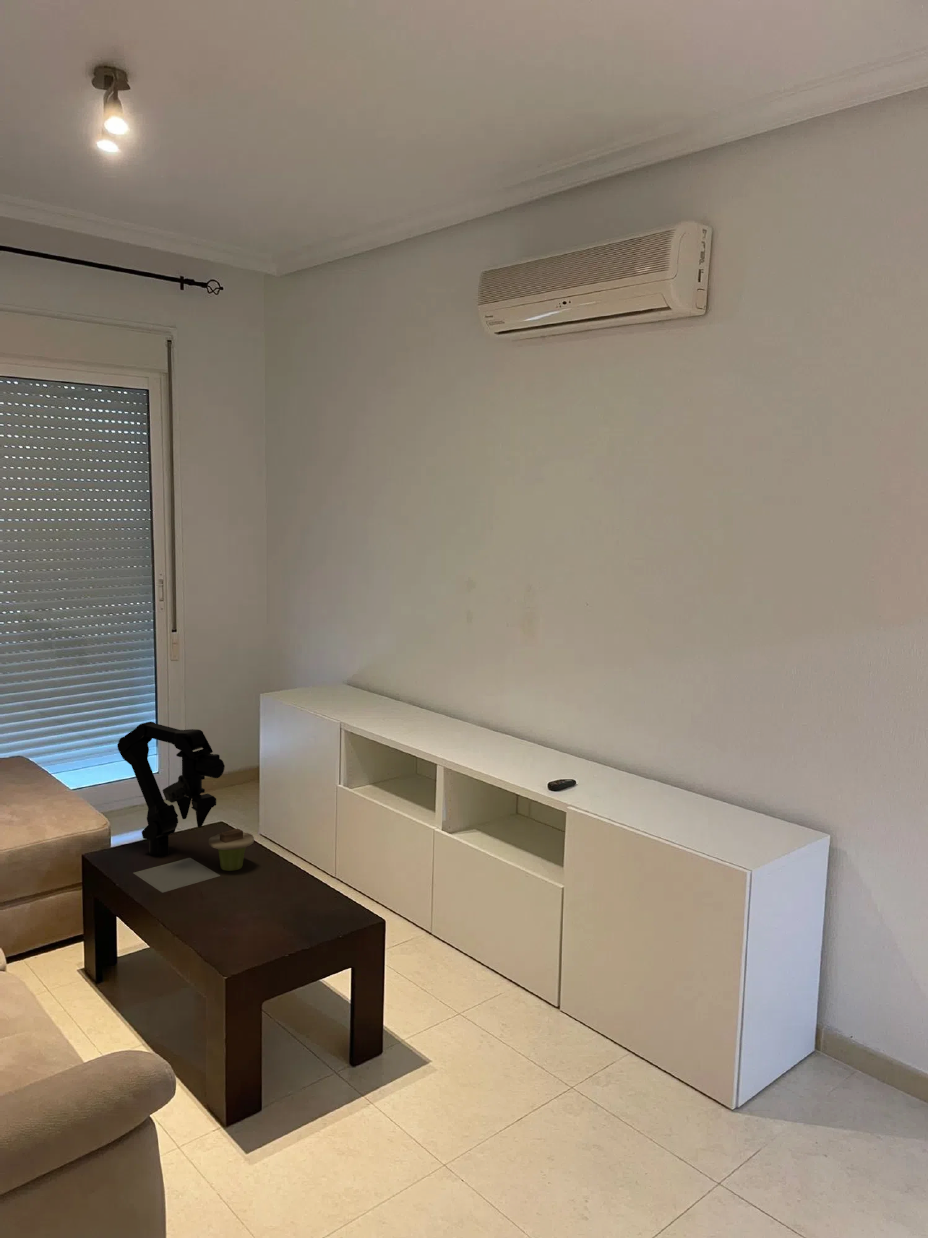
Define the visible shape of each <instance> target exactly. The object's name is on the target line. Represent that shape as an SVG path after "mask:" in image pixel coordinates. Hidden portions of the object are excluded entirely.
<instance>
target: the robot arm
mask: <svg viewBox="0 0 928 1238" xmlns="http://www.w3.org/2000/svg"><path fill="white" fill-rule="evenodd" d="M152 739H153V740H157V741H160V742H165V743H168V744H171V745H174V748H175V749H177V750H179V751H178V752H177V753H176V757H178V758H181V774H180V775H179V776H178V777H177V781H176V782H174V783H172V784H170V785H168V786H167V787H165V788H163V789H162V791H161V790H160V787H159V786H158V782H157V779H156V777H155V775H154V773H153V770H152V767H151V764H150V762H149V759H148V758H149V751H150V749H149V743H150V742H151V741H152ZM207 739H208V738H207V737H206V735H205V734H204V731H202V730H201V729H196V728H195V729H194V728H193V729H192V728H191V729H178V728H176V727H175V728H174V727H171V726H167V725H163V724H158V723H155V722H154V721H146V722H142V723H140V724H139V725H136V728H134V729H133V730H131V731H129V732H128V733H127V734H126V735H124V736H123V737H121V738H119V740H118V742H117V750H118V752H119V754H120V756H121V758H122V759H123V760H124V761H125V762H126V763H128V764H129V765H131V767H132V771H133V772H134V773H133V774H134V776H135V777H136V781H137V783H138V786H139V788H140V790H141V793H142V795H143V798H144V799H143V800H145V804H146V806H147V814H146V821H147V826H145V828H144V829H143V830H142V831H141V835H142V838H143V839H144V840H146V841H147V840H148V842H149V843H148V851H149V852H148V853H149V855H150V856H153V857H160V858H161V857H166V856H169V853H170V846H169V844H170V842H169V841H170V840H169V839H170V837H169V836H170V835H172V834H175V832H176V829H177V827H178V823H179V818H178V817H179V814H177V811H176V808H175V806H174V804H170V805H169V804H168V803H166V802H165V800H166V801H168V802H170V803H177V806H178V809H179V812H180V815H181V818H182V820H186V819H187V817H188V815H189V811H190V806H191V809H193V810H194V812H195V816H196V817H195V818H196V824H197V828H202V827H203V825H204V823H205V821H206V818H207V816H208V815H209V813H210V812H211V810H212V808H214V807H216V806H217V798H216V797H215V796H214V795H213V794H210V793H205V792H206V790H205V788H203V780H205V779H206V777H209V778H212V779H219V778H220V777H221V776H222V775H223V774H224V772H225V768H226V767H225V766H226V765H225V763H224V760H223V759H221V758H220V754H218V753H217V754H216V753H214V751H213V749H212V746H211V745H210V743H209V741H208V740H207ZM161 792H162V793H161ZM203 793H204V794H203ZM162 794H163V795H164V796H163V795H162ZM163 797H164V798H163ZM164 799H165V800H164Z"/></svg>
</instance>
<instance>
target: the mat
mask: <svg viewBox="0 0 928 1238" xmlns="http://www.w3.org/2000/svg"><path fill="white" fill-rule="evenodd" d="M133 875H135V876H136V877H138V878H140V879H141V880H143V881H144V882H145V883H147V884H149V886H151V887H153V888H154V889H156V890H157V891H159V892H160V893H161V894H163V893H167V892H170V891H173V890H176V889H180V888H184V887H187V886H190V885H194V884H197V883H201V882H204V881H208V880H211V879H214V878H217V877H218V878H219V877H221V875H220V874H219V873H217V872H215V871H214V870H212V869H210V868H209V867H207V866H205V865H204V864H202V863H200V862H198V861H196V860H194V859H193V858H191V857H187V858H183V859H179V860H177V861H173V862H170V863H166V864H161V865H158V866H154V867H149V868H146V869H142V870H139V871H136V872H135V871H134V872H133Z"/></svg>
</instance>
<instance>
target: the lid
mask: <svg viewBox="0 0 928 1238" xmlns="http://www.w3.org/2000/svg"><path fill="white" fill-rule="evenodd" d="M254 841H255V837H254V835H252V834H251V833H249V832H245V831H243V830H242V829H239V828H235V829H230V830H226V831H222V832H220V833H216V834H214V835H212V836H211V837H209V839H208V845H209V847H211V848H212V849H213V848H214V849H217V850H218V849H221V850H235V849H241V848H245V847H246V848H247V847H249V846H251V845H253V844H254ZM246 848H245V849H246Z"/></svg>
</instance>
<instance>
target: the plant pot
mask: <svg viewBox="0 0 928 1238" xmlns="http://www.w3.org/2000/svg"><path fill="white" fill-rule="evenodd" d="M246 848H247V847H245V848H241V849H235V850H221V849H217V851H218V858H219V865H220V869H221V870H223V871H226V872H227V871H229V872H231V871H232V872H233V871H237V870H240V869H242V868H243V864H244V858H245V852H246Z"/></svg>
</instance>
